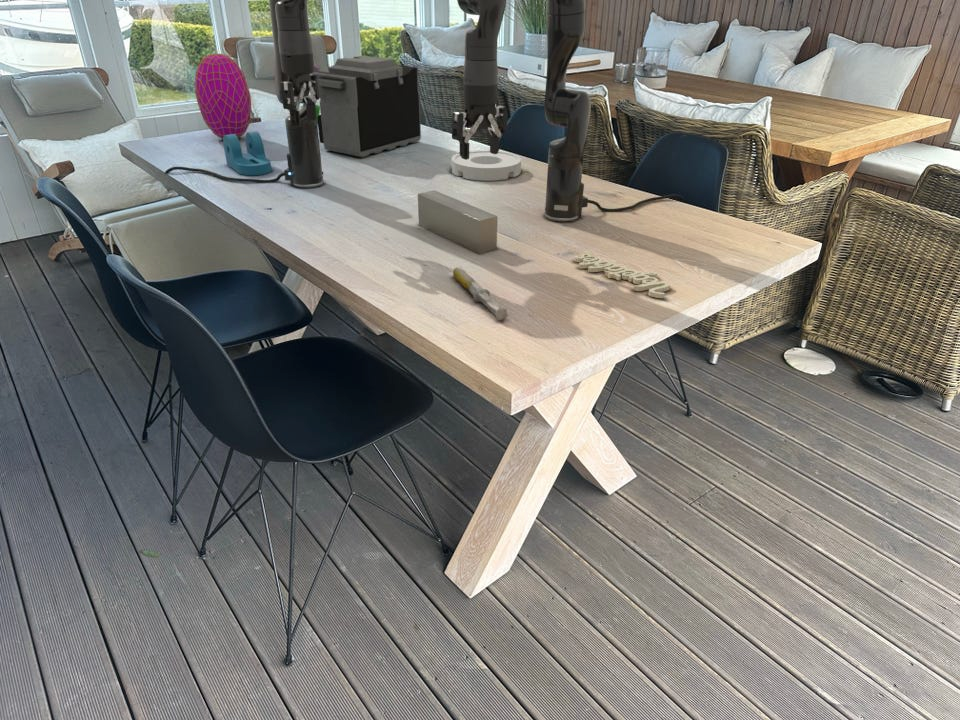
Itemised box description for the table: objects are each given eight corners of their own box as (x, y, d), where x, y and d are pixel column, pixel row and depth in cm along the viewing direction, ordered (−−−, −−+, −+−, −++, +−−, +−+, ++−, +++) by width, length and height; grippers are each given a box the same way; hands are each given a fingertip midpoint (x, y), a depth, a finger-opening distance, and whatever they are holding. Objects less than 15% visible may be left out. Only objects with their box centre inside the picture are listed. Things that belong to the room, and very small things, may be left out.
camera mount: (227, 164, 233) (221, 132, 227) (257, 160, 238) (252, 129, 233) (244, 176, 220) (239, 143, 215) (276, 172, 225) (271, 139, 220)
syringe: (449, 274, 155) (449, 263, 153) (465, 272, 156) (464, 260, 154) (490, 323, 135) (491, 310, 133) (508, 319, 136) (508, 307, 134)
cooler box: (383, 133, 276) (378, 52, 261) (425, 141, 265) (422, 56, 250) (314, 150, 251) (304, 61, 235) (358, 160, 240) (350, 67, 224)
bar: (418, 224, 184) (417, 193, 179) (435, 220, 187) (434, 190, 182) (479, 254, 166) (480, 220, 162) (496, 249, 169) (497, 215, 165)
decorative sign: (686, 282, 150) (660, 295, 144) (686, 286, 150) (659, 300, 144) (592, 249, 166) (565, 259, 160) (592, 253, 167) (565, 263, 161)
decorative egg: (221, 147, 254) (205, 59, 239) (195, 138, 265) (178, 54, 250) (266, 138, 266) (254, 54, 251) (239, 130, 277) (226, 49, 262)
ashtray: (453, 161, 240) (453, 149, 238) (520, 162, 239) (520, 150, 237) (449, 179, 220) (449, 167, 218) (521, 181, 219) (522, 168, 217)
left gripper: (295, 47, 166) (303, 116, 174) (265, 53, 154) (276, 128, 162) (324, 48, 164) (331, 118, 173) (296, 55, 153) (305, 130, 161)
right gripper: (465, 86, 144) (465, 164, 152) (516, 80, 152) (513, 154, 160) (444, 82, 149) (445, 157, 157) (494, 76, 157) (493, 148, 165)
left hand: (304, 123), depth 167 cm, fingers open, 8 cm apart
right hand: (479, 156), depth 159 cm, fingers open, 8 cm apart
